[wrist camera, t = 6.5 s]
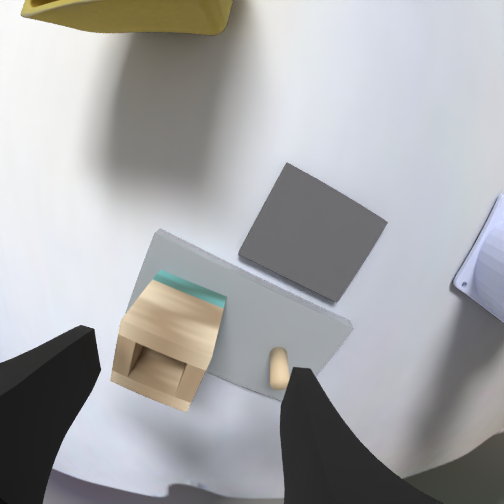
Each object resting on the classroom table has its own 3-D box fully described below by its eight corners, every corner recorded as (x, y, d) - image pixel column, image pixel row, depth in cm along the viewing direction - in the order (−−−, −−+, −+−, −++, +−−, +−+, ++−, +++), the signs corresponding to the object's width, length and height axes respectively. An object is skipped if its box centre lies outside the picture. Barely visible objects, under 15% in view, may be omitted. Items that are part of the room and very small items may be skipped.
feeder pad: (384, 220, 18) (387, 222, 17) (335, 298, 20) (336, 302, 19) (286, 162, 17) (287, 162, 16) (239, 250, 19) (238, 254, 18)
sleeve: (226, 296, 19) (212, 357, 13) (204, 348, 20) (186, 412, 14) (160, 269, 18) (121, 319, 13) (144, 323, 20) (110, 380, 14)
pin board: (350, 321, 20) (365, 356, 16) (290, 395, 23) (293, 432, 19) (160, 228, 19) (135, 249, 15) (125, 322, 21) (103, 354, 17)
